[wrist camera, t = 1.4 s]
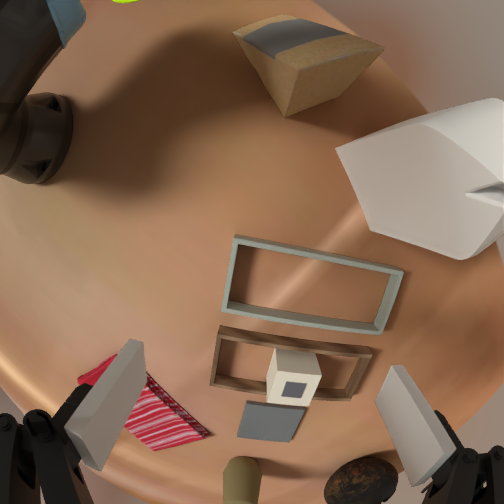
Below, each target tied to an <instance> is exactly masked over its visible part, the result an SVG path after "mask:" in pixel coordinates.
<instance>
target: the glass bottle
mask: <svg viewBox="0 0 504 504" xmlns="http://www.w3.org/2000/svg"><path fill="white" fill-rule="evenodd" d="M397 483H398V473H397V470H396V469H395V467H394V466H393V465H391V464H390V463H388V462H387V461H384V460H381V459H377V458H363V459H359V460H355V461H353V462H350V463H348V464H346V465H344V466H343V467H341V468H340V469H338V470H337V471H336V472H335V473H334V474H333V475H332V476H331V477H330V478H329V480H328V481H327V483H326V486H325V489H324V498H325V500H326V502H327V504H381V502H382V501H383V502H386V501H387V500H388V499H389V498H390V497H391V496H392V495H393V494H394V492H395V490H396V486H397Z"/></svg>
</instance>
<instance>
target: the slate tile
mask: <svg viewBox="0 0 504 504" xmlns="http://www.w3.org/2000/svg"><path fill="white" fill-rule="evenodd" d="M304 411H305V407H298V406H287V405H277V404H268V403H261V402H253V401H247V402H246V405H245V409H244V412H243V416H242V420H241V423H240V427H239V430H238V434H237V437H241V438H249V439H257V440H266V441H278V442H290V440H291V438H292V436H293V434H294V432H295V430H296V428H297V426H298V424H299V422H300V420H301V418H302V416H303V413H304Z"/></svg>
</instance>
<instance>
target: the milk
mask: <svg viewBox="0 0 504 504" xmlns="http://www.w3.org/2000/svg"><path fill="white" fill-rule="evenodd" d="M335 150H336V152H337V154H338V156H339V158H340V160H341V162H342V164H343V167H344V169H345V171H346V173H347V175H348V178H349V180H350V182H351V184H352V187H353V189H354V191H355V194H356V196H357V198H358V201H359V203H360V206H361V208H362V211H363V213H364V216H365V218H366V221H367V224H368V226H369V229H370V231H373V232H376V233H379V234H383V235H386V236H389V237H392V238H395V239H398V240H402V241H405V242H408V243H411V244H414V245H417V246H420V247H423V248H425V249H428V250H431V251H434V252H437V253H440V254H443V255H445V256H448V257H451V258H454V259H458V260H464V259H467V258H470V257H473V256H476V255H478V254H479V253H480V252H482V251H483V250H484V249H486V248H487V247H488V246H490V245H491V244H492V243H493V242H495V241H496V240H497V239H498V238H499V237H501V236H502V235H503V234H504V101H502V100H500V99H497V98H488V99H484V100H479V101H475V102H470V103H466V104H462V105H458V106H454V107H450V108H446V109H443V110H439V111H435V112H432V113H428V114H425V115H421V116H418V117H415V118H411V119H408V120H405V121H402V122H400V123H397V124H394V125H392V126H389V127H386V128H384V129H381V130H379V131H376V132H374V133H371V134H369V135H366V136H364V137H361V138H359V139H356V140H354V141H351V142H349V143H347V144H344V145H342V146H340V147H337V148H335Z"/></svg>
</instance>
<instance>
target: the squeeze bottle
mask: <svg viewBox="0 0 504 504" xmlns="http://www.w3.org/2000/svg"><path fill="white" fill-rule="evenodd" d="M261 477H262V473H261V471H260V468H259V466H258V464H257V462H256V461H255V460H254V459H252V458H249V457H235V458H233V459H231V460H230V462H229V463H228V465H227V467H226V468H225V470H224V472H223V503H224V504H257V503H258V497H259V491H260V484H261Z"/></svg>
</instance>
